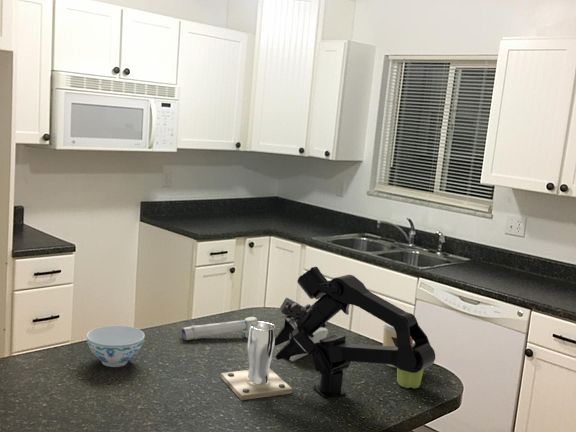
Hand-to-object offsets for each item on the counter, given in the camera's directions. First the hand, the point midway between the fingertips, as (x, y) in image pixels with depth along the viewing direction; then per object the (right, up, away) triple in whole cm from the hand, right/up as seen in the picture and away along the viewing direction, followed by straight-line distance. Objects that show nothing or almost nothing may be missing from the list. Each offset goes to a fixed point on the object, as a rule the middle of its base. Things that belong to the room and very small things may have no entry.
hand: (274, 351), depth 164 cm
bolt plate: (-5, -9, +1) cm, 10 cm away
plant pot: (+36, -12, +11) cm, 40 cm away
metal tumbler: (-4, -8, +1) cm, 9 cm away
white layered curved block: (+8, -7, +27) cm, 29 cm away
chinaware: (-43, -5, +8) cm, 44 cm away
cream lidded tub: (+35, -9, +26) cm, 45 cm away
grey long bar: (-17, -3, +34) cm, 38 cm away
